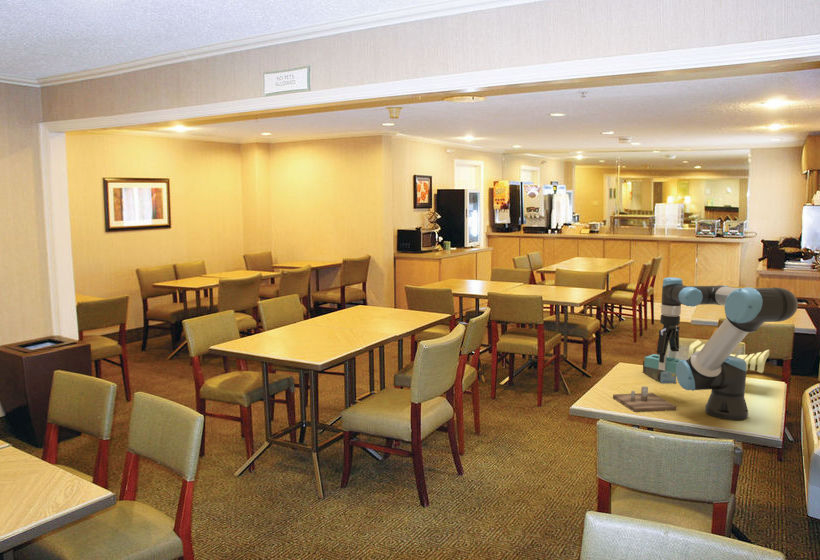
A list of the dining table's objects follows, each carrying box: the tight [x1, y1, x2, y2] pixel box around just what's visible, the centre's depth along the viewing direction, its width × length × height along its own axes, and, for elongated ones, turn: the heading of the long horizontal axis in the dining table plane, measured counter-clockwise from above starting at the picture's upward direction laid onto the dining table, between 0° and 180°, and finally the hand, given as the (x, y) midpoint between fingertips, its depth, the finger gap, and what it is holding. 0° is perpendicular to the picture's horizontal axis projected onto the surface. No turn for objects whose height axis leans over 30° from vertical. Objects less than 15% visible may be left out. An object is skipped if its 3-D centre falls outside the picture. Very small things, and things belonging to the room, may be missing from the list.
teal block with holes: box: [644, 353, 682, 373], centre depth 268 cm, size 16×8×4 cm, turn 42°
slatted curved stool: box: [687, 339, 770, 374], centre depth 288 cm, size 30×16×18 cm, turn 52°
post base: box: [612, 386, 678, 413], centre depth 262 cm, size 18×18×7 cm
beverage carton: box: [642, 360, 677, 384], centre depth 301 cm, size 8×19×7 cm, turn 4°
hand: (666, 367), depth 268 cm, fingers closed on teal block with holes, 8 cm apart
